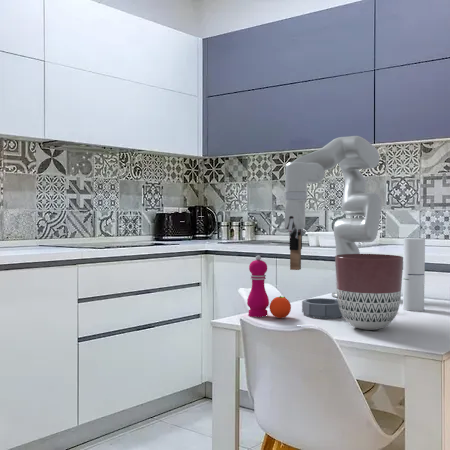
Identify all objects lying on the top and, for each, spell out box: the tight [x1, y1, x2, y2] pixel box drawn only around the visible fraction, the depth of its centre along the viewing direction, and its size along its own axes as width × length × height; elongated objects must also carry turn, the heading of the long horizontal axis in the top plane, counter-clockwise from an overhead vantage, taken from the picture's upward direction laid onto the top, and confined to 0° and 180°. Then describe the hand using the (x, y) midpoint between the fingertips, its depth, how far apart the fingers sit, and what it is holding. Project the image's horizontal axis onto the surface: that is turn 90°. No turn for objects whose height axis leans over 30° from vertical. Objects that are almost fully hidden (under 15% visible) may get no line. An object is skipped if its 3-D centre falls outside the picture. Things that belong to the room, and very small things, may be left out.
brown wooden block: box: [289, 235, 302, 271], centre depth 205 cm, size 3×3×12 cm
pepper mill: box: [246, 255, 270, 318], centre depth 192 cm, size 7×7×20 cm
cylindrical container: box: [402, 237, 426, 312], centre depth 205 cm, size 7×7×25 cm
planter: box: [334, 253, 404, 331], centre depth 172 cm, size 20×20×21 cm
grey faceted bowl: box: [301, 297, 343, 319], centre depth 194 cm, size 13×13×4 cm
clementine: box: [269, 295, 292, 319], centre depth 189 cm, size 8×7×7 cm
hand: (295, 249), depth 205 cm, fingers closed on brown wooden block, 3 cm apart
